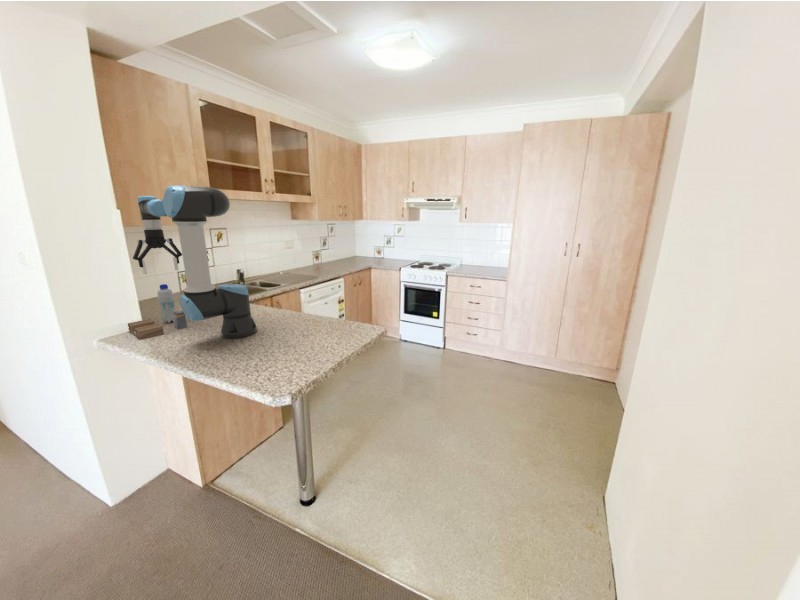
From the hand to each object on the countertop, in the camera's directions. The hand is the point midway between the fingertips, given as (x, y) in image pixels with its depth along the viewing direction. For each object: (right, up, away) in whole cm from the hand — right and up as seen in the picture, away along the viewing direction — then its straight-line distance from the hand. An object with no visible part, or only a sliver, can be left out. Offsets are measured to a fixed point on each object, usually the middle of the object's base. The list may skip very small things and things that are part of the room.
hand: (161, 271), depth 165 cm
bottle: (+1, -26, +5) cm, 26 cm away
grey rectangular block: (+12, -28, -4) cm, 31 cm away
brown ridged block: (0, -30, -10) cm, 32 cm away
